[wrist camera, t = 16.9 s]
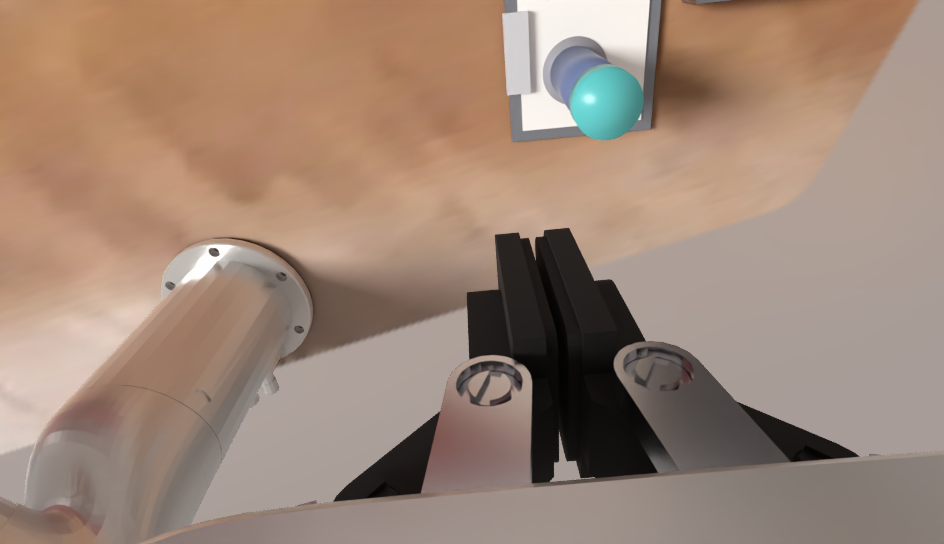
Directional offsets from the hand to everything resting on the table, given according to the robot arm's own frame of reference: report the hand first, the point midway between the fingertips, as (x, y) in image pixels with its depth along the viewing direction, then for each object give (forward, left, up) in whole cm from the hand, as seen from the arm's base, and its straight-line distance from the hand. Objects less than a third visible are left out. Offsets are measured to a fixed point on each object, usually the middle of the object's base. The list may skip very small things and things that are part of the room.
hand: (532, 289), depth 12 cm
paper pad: (+2, -6, -27) cm, 28 cm away
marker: (0, -6, -27) cm, 27 cm away
